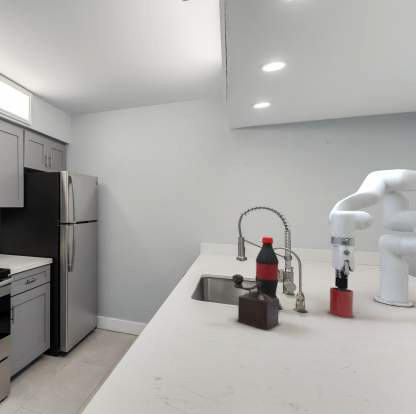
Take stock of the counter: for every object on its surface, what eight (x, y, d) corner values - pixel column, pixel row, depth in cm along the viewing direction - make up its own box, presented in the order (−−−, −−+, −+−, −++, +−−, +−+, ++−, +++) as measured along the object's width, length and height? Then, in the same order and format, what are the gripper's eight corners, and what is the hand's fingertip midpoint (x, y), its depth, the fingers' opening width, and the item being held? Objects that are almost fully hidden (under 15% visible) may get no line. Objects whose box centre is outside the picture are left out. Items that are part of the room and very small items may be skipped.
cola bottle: (275, 306, 134) (276, 236, 134) (279, 312, 126) (281, 238, 126) (253, 304, 137) (254, 235, 137) (256, 310, 129) (258, 237, 129)
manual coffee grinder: (248, 315, 122) (249, 269, 122) (279, 324, 114) (280, 274, 114) (228, 324, 112) (229, 274, 112) (260, 334, 104) (261, 280, 104)
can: (332, 310, 131) (333, 286, 131) (354, 315, 125) (355, 290, 125) (326, 313, 127) (327, 289, 127) (349, 319, 121) (350, 293, 121)
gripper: (362, 244, 117) (361, 293, 117) (346, 240, 132) (345, 284, 132) (338, 243, 120) (336, 291, 120) (325, 239, 135) (323, 282, 135)
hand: (341, 287), depth 126 cm, fingers closed
